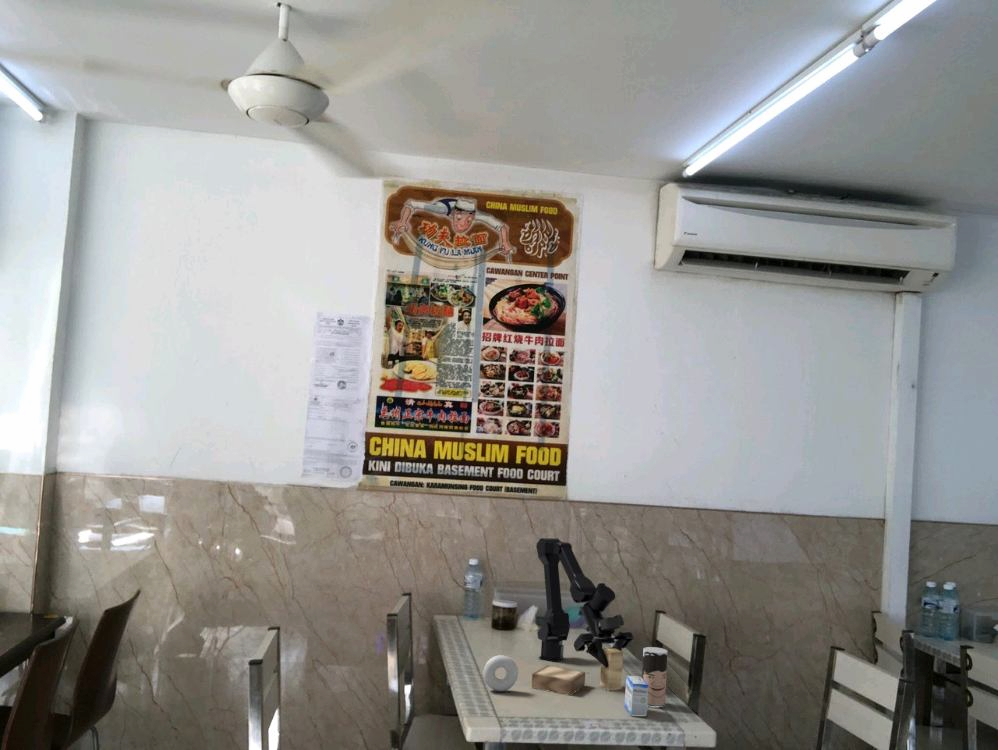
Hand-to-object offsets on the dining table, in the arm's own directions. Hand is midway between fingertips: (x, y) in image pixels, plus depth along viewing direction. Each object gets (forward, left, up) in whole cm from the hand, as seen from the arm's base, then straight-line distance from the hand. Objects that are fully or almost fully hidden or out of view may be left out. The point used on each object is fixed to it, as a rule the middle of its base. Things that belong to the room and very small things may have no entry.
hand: (614, 666), depth 255 cm
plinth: (-14, -8, -7) cm, 18 cm away
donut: (-26, -23, -7) cm, 36 cm away
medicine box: (+12, -17, -7) cm, 22 cm away
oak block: (-1, +1, -7) cm, 7 cm away
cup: (+14, -7, -7) cm, 17 cm away
